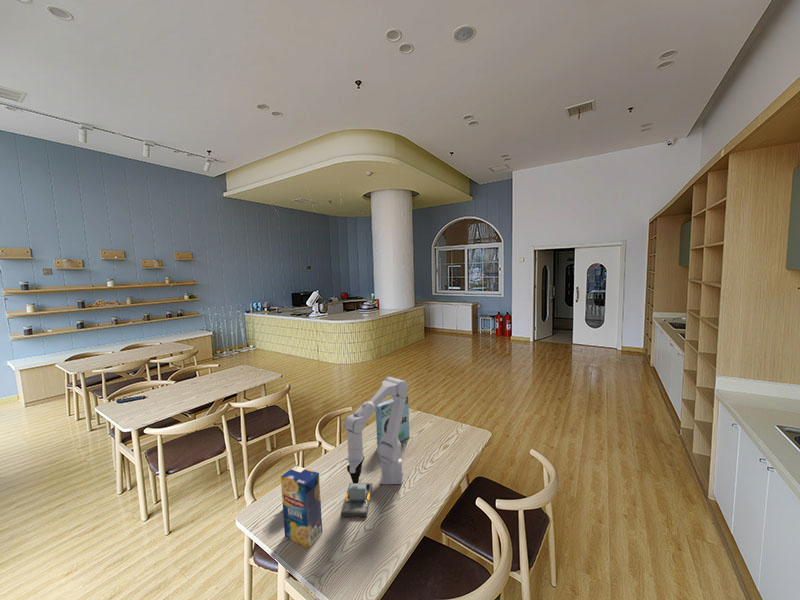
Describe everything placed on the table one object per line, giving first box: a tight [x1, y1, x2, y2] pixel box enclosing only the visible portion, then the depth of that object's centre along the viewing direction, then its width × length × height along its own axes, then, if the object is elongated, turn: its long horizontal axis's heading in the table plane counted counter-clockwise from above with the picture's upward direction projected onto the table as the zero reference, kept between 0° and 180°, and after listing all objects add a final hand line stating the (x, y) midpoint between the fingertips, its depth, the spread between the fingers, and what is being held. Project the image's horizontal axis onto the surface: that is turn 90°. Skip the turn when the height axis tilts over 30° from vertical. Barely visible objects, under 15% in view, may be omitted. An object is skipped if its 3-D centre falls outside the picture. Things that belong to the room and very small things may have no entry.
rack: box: [340, 482, 373, 518], centre depth 125 cm, size 10×16×2 cm, turn 178°
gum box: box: [375, 395, 410, 448], centre depth 167 cm, size 20×5×23 cm, turn 133°
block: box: [348, 483, 367, 501], centre depth 125 cm, size 6×3×6 cm, turn 88°
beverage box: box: [280, 465, 323, 549], centre depth 109 cm, size 7×11×22 cm, turn 63°
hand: (356, 479), depth 124 cm, fingers open, 4 cm apart
